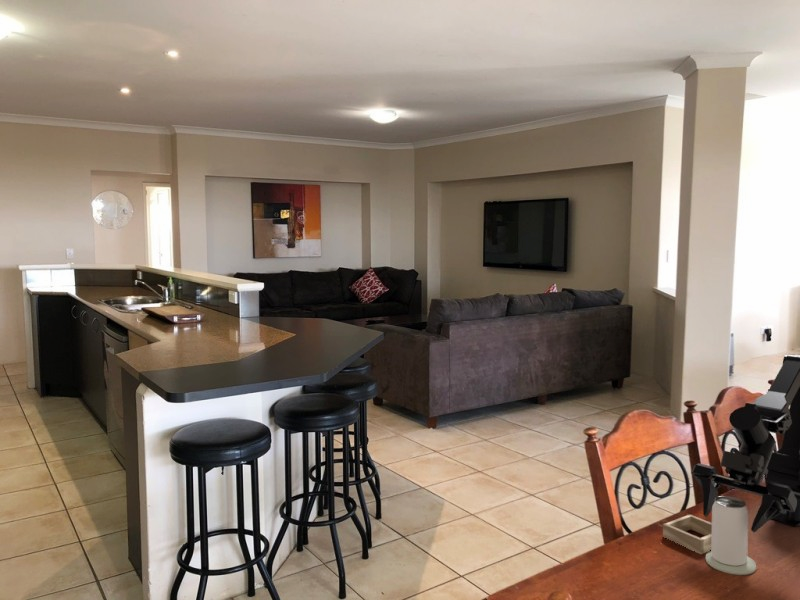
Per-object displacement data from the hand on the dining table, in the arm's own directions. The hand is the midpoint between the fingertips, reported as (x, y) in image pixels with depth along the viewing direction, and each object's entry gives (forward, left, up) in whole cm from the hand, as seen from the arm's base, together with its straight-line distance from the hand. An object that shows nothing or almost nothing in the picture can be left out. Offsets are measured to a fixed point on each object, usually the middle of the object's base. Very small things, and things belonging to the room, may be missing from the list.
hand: (728, 523), depth 128 cm
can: (-2, -1, -8) cm, 9 cm away
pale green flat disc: (-1, 0, -9) cm, 9 cm away
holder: (-4, -10, -9) cm, 14 cm away
